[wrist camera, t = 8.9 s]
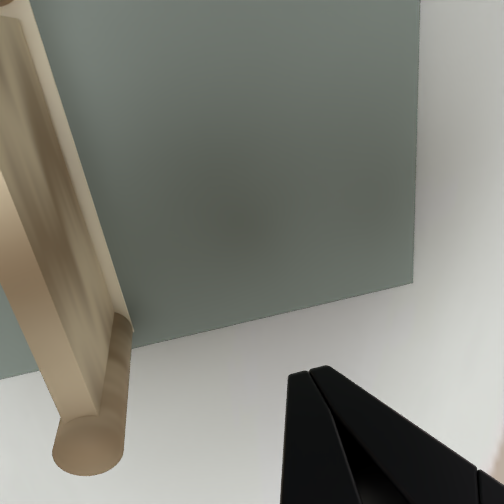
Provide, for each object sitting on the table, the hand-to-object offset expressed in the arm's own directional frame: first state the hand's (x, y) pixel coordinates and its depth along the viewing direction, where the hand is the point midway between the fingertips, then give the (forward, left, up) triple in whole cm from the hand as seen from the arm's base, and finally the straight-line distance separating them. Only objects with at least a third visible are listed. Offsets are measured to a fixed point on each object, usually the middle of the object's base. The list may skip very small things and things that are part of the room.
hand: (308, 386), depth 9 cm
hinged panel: (-1, -6, -10) cm, 11 cm away
